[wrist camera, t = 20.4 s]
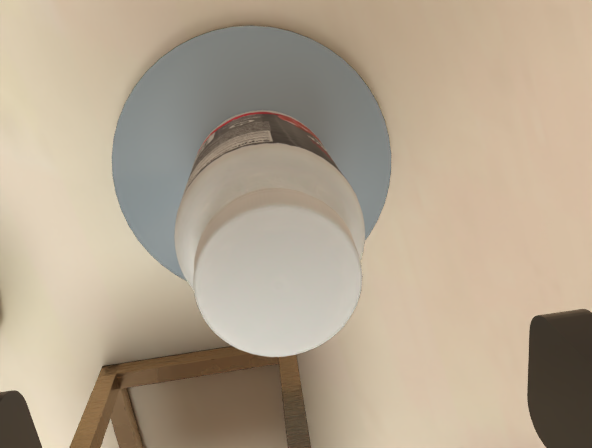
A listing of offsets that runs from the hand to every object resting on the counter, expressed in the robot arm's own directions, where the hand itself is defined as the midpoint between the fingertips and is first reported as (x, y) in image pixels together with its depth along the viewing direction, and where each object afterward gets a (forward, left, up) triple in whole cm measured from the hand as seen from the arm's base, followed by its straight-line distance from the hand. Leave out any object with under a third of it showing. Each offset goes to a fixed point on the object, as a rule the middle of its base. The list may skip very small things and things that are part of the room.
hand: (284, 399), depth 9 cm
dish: (0, 0, -15) cm, 15 cm away
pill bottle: (0, 0, -14) cm, 14 cm away
